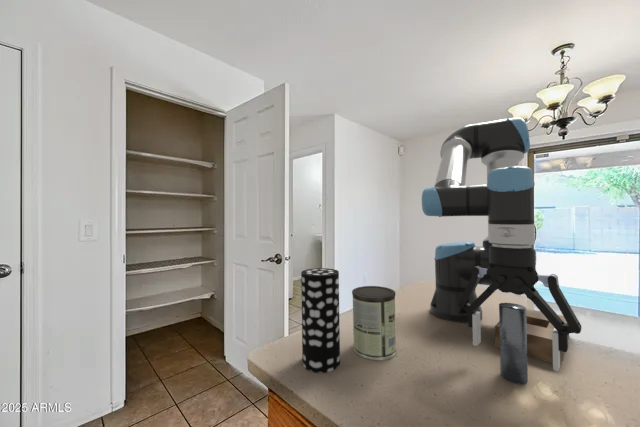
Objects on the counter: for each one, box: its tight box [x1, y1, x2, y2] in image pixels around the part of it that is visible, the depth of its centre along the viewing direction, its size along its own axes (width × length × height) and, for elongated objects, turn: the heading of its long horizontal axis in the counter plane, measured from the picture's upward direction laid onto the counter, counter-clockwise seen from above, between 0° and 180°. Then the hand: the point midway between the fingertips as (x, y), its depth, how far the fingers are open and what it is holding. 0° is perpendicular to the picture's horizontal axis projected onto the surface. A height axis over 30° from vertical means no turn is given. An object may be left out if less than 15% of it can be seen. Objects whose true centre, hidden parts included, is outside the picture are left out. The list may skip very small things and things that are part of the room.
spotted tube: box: [300, 267, 341, 374], centre depth 60 cm, size 8×8×20 cm
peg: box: [498, 302, 529, 385], centre depth 53 cm, size 4×4×14 cm
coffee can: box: [351, 285, 397, 361], centre depth 65 cm, size 10×10×14 cm
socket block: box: [494, 308, 570, 366], centre depth 69 cm, size 12×20×5 cm, turn 134°
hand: (513, 354), depth 53 cm, fingers open, 12 cm apart
